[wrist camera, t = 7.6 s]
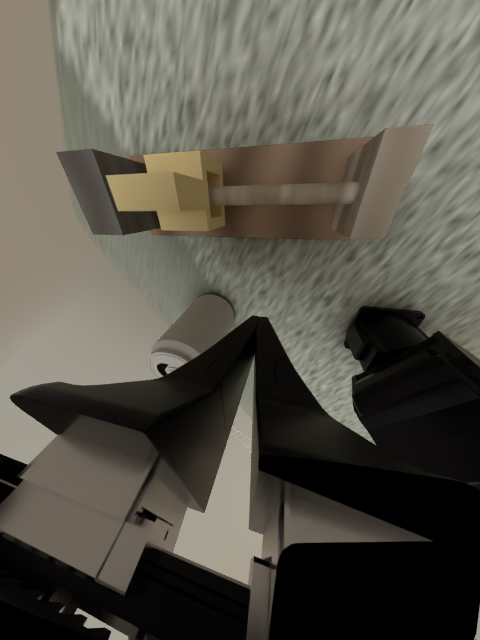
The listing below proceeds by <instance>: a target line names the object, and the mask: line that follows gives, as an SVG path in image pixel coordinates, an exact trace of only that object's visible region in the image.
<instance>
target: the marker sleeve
mask: <svg viewBox="0 0 480 640" xmlns="http://www.w3.org/2000/svg"><path fill="white" fill-rule="evenodd" d="M143 156H144V160H145V164H146V168H147V173H140V174H122V175H106V178H107V181H108V184H109V187H110V189H111V192H112V195H113V198H114V201H115V204H116V207H117V209H118V211H157V214H158V218H159V222H160V226H161V230H169V231H210V230H213V229H216V228H219V227H222V226H225V209H224V205H223V206H210V203H209V192H208V187H221V186H223V171H222V164H221V163H219V162H218V161H216V160H215V159H213V158H211V157H210V156H208V155H206V154H205V153H203V152H201V151H200V150H199V151H186V152H174V153H161V154H149V155H143Z"/></svg>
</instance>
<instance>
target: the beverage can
mask: <svg viewBox="0 0 480 640" xmlns="http://www.w3.org/2000/svg"><path fill="white" fill-rule="evenodd" d="M233 321H234V313H233V310H232V308H231V306H230V305H229V303H228V302H227V301H226V300H224V299H223V298H221V297H219V296H217V295H212V294H206V295H203V296H200V297H199V298H198V299H197V300H196V301H195V302H194V303H193V304H192V305H191V306H190V307H189V308H188V309H187V310H186V311H185V312H184V313H183V314H182V315H181V317H180V318H179V319H178V320H177V321H176V322H175V323H174V324H173V325H172V326H171V327H170V328H169V329H168V330H167V331H166V332H165V333H164V335H163V336H162V337H161V338H160V339H159V340H158V341H157V342H156V343H155V344H154V345H153V347H152V351H151V354H150V355H149V357H148V358H147V366H148V369H149V371H150V372H151V373H152V375H153V376H154V377H155V378H156V379H157V378H160V377H163V376H165V375H167V374H169V373H170V372H172V371H174V370H175V369H177V368H179V367H180V366H182V365H184V364H185V363H187V362H189V361H190V360H192V359H194V358H195V357H197V356H198V355H200V354H201V353H203V352H204V351H206V350H207V349H209V348H210V347H211V346H213V345H214V344H215V343H217V342H218V341H219V340H221V339H222V338H223V337H225V336H226V335H227V334H228V332H229V330H230V328H231V325H232V323H233Z"/></svg>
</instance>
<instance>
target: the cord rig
mask: <svg viewBox="0 0 480 640" xmlns="http://www.w3.org/2000/svg"><path fill="white" fill-rule="evenodd" d="M433 125H434V124H430V125H419V126H407V127H396V128H386V129H384V130H383V131H382V132H380V133H379V134H378V135H376V136H375V137H366V138H353V139H341V140H328V141H315V142H303V143H290V144H278V145H265V146H252V147H240V148H227V149H214V150H202V151H201V152H203V153H205V154H206V155H208V156H210V157H211V158H213V159H215V160H216V161H218V162H219V163H221V164H222V171H223V186H221V187H208V192H209V203H210V206H223V205H224V209H225V226H222V227H219V228H216V229H213V230H210V231H169V230H161V226H160V222H159V218H158V214H157V211H118V209H117V207H116V204H115V201H114V198H113V195H112V192H111V189H110V187H109V184H108V181H107V178H106V175H122V174H140V173H147V168H146V164H145V160H144V156H143V155H138V156H130V157H131V160H129V159H126V158H122V157H119V156H115V155H112V154H108V153H105V152H101V151H98V150H94V149H85V150H74V151H64V152H57V155H58V157H59V160H60V162H61V164H62V166H63V168H64V171H65V173H66V175H67V177H68V180H69V182H70V184H71V186H72V188H73V191H74V193H75V195H76V197H77V199H78V202H79V204H80V206H81V208H82V211H83V213H84V215H85V217H86V219H87V222H88V224H89V226H90V228H91V230H92V233H93V234H101V235H126V234H131V233H137V232H142V231H147V230H151V234H152V235H175V236H214V237H252V238H291V239H329V240H350V239H381V240H384V238H385V236H386V234H387V231H388V229H389V227H390V224H391V222H392V220H393V217H394V215H395V213H396V210H397V208H398V206H399V203H400V201H401V199H402V197H403V194H404V192H405V190H406V187H407V185H408V183H409V180H410V178H411V176H412V173H413V171H414V169H415V166H416V164H417V162H418V159H419V157H420V155H421V153H422V150H423V148H424V146H425V143H426V141H427V139H428V136H429V134H430V132H431V129H432V127H433Z"/></svg>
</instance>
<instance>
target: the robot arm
mask: <svg viewBox="0 0 480 640" xmlns="http://www.w3.org/2000/svg"><path fill="white" fill-rule="evenodd" d="M364 310H366V311H365V312H363V311H364ZM419 315H420V316H419ZM417 316H419V317H417ZM424 318H425V314H423V313H422V312H419V311H408V310H397V309H387V308H376V307H362V308H360V309H359V312H358V314H357V316H356V318H355V320H354V322H352V323H351V326H350V328H349V330H348V332H347V335H346V337H345V338H346V340H345V342H344V346H345V348H347V349H351V351H352V354H353V356H354V358H355V359H356V360H359V361H360V364H361V366H362V368H363V370H364V372H363V373H361V374H359V375H355V376H353V377H352V399H353V407H354V411H355V413H356V414H357V416H358V418H359V420H360V422H361V423H362V424H363V425H364V427H365V428H366V429H367V431H368V432H369V434H370V435H371V437H372V439H373V440H374V442H375V443H376V445H377V446H376V445H374V444H373V443H371V442H370V441H368V440H366V439H365V438H363V437H362V436H360V435H359V434H357V433H355V432H354V431H352V430H351V429H349V428H347V427H346V426H344V425H343V424H341V423H340V422H338V421H336V420H335V419H333V418H332V417H331V416H330V415H329V414H328V413H327V412H326V411H325V410H324V409H323V408H322V407H321V406H320V404H319V403H318V402H317V400H316V399H315V397H314V396H313V394H312V393H311V392H310V390H309V389H308V387H307V386H306V385H305V383H304V382H303V380H302V379H301V377H300V376H299V375H298V373H297V372H296V370H295V368H294V367H293V365H292V363H291V361H290V359H289V357H288V356H287V354H286V352H285V350H284V348H283V346H282V344H281V342H280V340H279V338H278V336H277V335H276V333H275V331H274V329H273V327H272V325H271V323H270V321H269V319H268V318H267V317H259V316H251V317H250V318H248V319H247V320H246V321H244V322H243V323H242V324H240V325H239V326H238V327H237V328H235V329H234V330H233V331H231V332H230V333H229V334H227V335H226V336H225V337H223V338H222V339H221V340H219V341H218V342H217V343H215V344H214V345H213V346H211V347H210V348H209V349H207V350H206V351H204V352H203V353H201V354H200V355H198V356H197V357H195V358H194V359H192V360H190V361H189V362H187V363H185V364H184V365H182V366H180V367H179V368H177V369H175V370H174V371H172V372H170V373H169V374H167V375H165V376H163V377H160V378H157V379H153V380H146V381H134V382H125V383H115V384H104V385H87V386H82V385H72V384H68V383H63V382H53V383H46V384H40V385H36V386H32V387H29V388H26V389H23V390H20V391H18V392H16V393H14V394H12V395H11V396H10V399H11V401H12V402H13V403H14V404H15V405H16V406H18V407H19V408H20V409H21V410H23V411H24V412H26V413H27V414H28V415H30V416H32V417H33V418H34V419H36V420H37V421H38V422H40V423H41V424H43V425H44V426H46V427H47V428H48V429H50V430H51V431H53V432H54V433H55V434H57V436H56V437H55V438H54V439H53V440H52V441H51V442H50V443H49V444H48V445H47V446H46V447H45V448H44V450H42V451H41V452H40V453H39V455H37V456H36V457H35V458H34V460H32V461H31V462H30V463H29V464H28V465H27V464H24V463H22V462H19V461H17V460H14V459H11V458H9V457H7V456H4V455H2V454H0V640H108V639H109V636H110V633H111V631H109V630H108V629H106V628H90V629H88V628H86V627H84V624H85V622H86V620H87V617H85V616H83V615H82V614H77V615H75V614H74V613H75V611H76V610H77V608H79V609H81V610H83V611H85V612H87V613H88V614H90V615H92V616H93V617H95V618H97V619H99V620H100V621H102V622H104V623H106V624H107V625H109V626H111V627H113V628H115V629H116V630H118V631H120V632H122V633H124V634H125V635H127V636H128V640H474V638H475V635H476V631H477V622H478V614H479V606H480V360H479V359H478V358H477V357H475V356H474V355H473V354H471V353H470V352H468V351H467V350H465V349H464V348H463V347H461V346H460V345H458V344H457V343H456V342H454V341H453V340H451V339H450V338H449V337H447V336H446V335H444V334H443V333H441V332H440V331H438V332H436V333H434V334H432V335H433V336H431V337H428V336H427V335H426V334H425V333H424V332H423V331H422V330H421V329H420V328H419V327H418V326H419V325H420V324H421V322H422V321H423V319H424ZM254 355H255V364H254V394H253V424H252V454H251V484H250V486H251V487H250V513H249V514H250V516H249V529H250V530H252V531H255V532H258V533H260V534H263V545H262V559H260V558H257V557H255V556H254V557H252V558H251V563H250V573H249V583H248V585H247V584H244V583H242V582H240V581H237V580H235V579H233V578H230V577H228V576H226V575H223V574H221V573H218V572H216V571H214V570H211V569H209V568H207V567H205V566H202V565H200V564H197V563H195V562H193V561H191V560H188V559H186V558H183V557H181V556H178V555H177V554H174V553H173V550H174V547H175V544H176V541H177V537H178V534H179V531H180V527H181V525H182V522H183V519H184V515H185V513H186V510H187V507H189V508H191V509H194V510H197V511H200V512H202V513H204V512H205V509H206V506H207V503H208V500H209V496H210V494H211V490H212V487H213V484H214V481H215V478H216V475H217V471H218V469H219V465H220V462H221V459H222V456H223V453H224V450H225V447H226V443H227V440H228V437H229V434H230V431H231V428H232V425H233V421H234V418H235V415H236V412H237V409H238V406H239V403H240V400H241V396H242V393H243V390H244V387H245V384H246V381H247V378H248V375H249V371H250V368H251V365H252V362H253V359H254Z"/></svg>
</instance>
